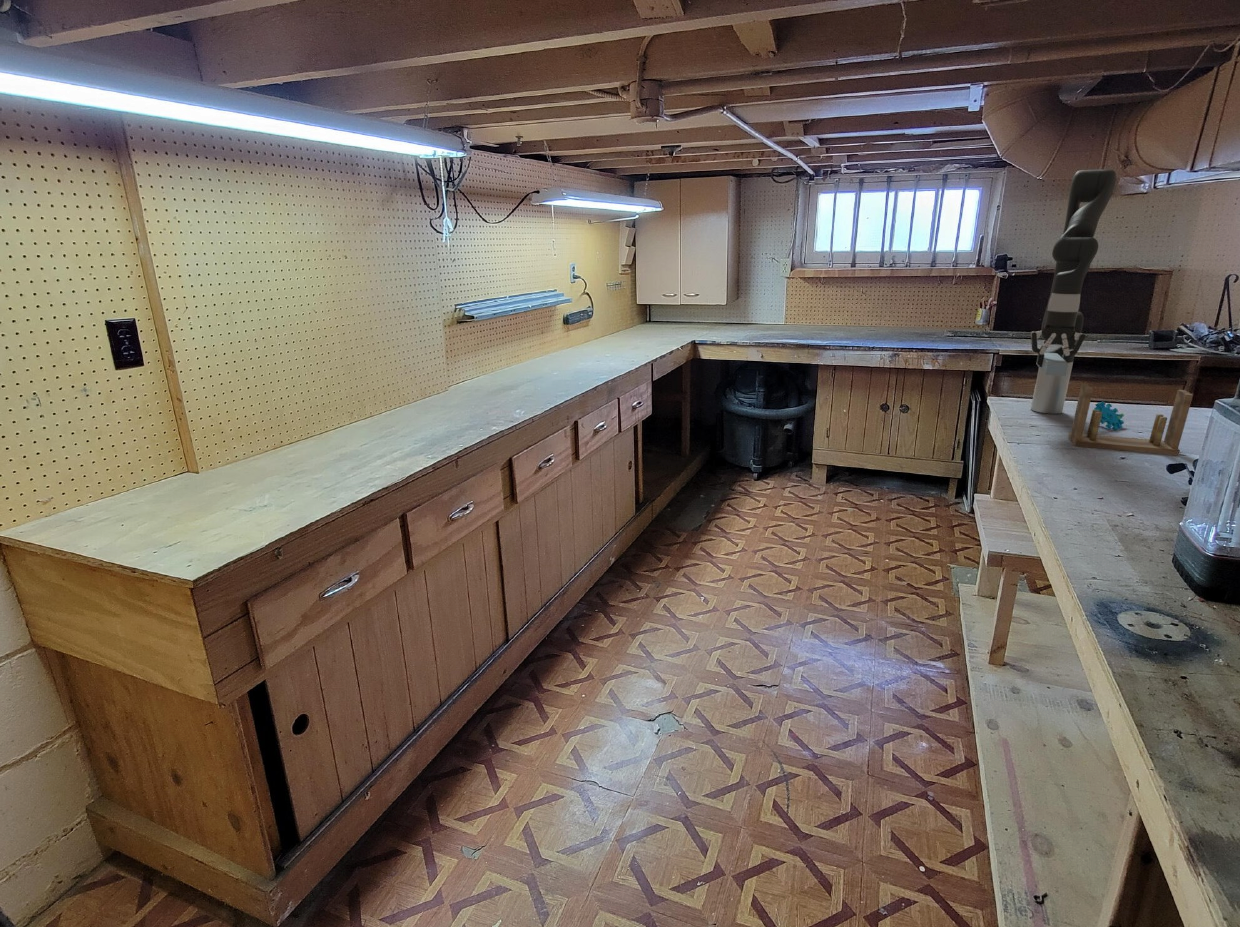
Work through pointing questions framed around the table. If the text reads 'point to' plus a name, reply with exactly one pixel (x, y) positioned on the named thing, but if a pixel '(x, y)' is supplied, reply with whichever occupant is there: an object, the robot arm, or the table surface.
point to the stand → (1131, 444)
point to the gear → (1109, 416)
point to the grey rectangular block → (1054, 364)
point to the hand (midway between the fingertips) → (1050, 367)
